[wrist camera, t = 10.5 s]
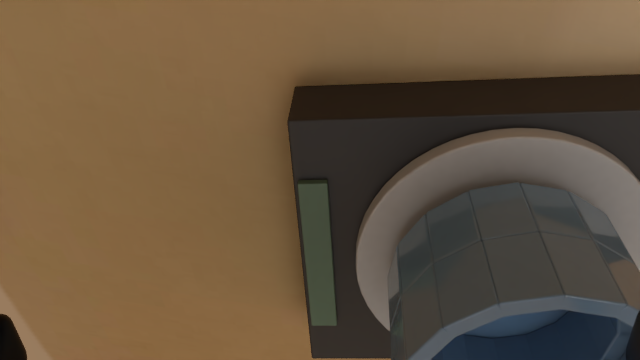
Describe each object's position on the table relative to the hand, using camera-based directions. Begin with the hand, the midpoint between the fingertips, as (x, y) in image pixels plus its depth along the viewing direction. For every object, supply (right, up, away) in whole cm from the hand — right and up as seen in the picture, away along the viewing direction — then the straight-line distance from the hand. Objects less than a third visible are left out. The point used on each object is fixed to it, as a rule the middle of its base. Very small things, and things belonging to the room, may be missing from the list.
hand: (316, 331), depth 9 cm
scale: (+6, +1, +13) cm, 14 cm away
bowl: (+6, 0, +10) cm, 12 cm away
